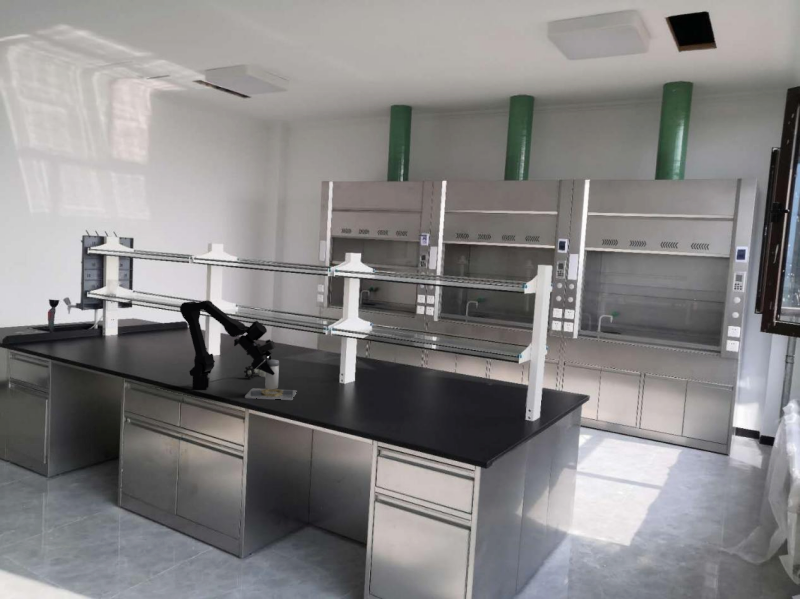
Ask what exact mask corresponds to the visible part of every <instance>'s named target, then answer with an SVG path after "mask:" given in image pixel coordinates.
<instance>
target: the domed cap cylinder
mask: <svg viewBox="0 0 800 599" xmlns="http://www.w3.org/2000/svg"><path fill="white" fill-rule="evenodd" d="M268 364H269V366H270V367H271V368H272V370H273V371H274V373H275V374H274V375H271V374H269V373H266V374H265V377H264V380H265V381H264V383H265V384H264V389H279V374H280V373H279V372H280V371H279V370H280V360H278V359H273V358H272V359H271V360H268Z"/></svg>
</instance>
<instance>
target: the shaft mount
mask: <svg viewBox="0 0 800 599" xmlns="http://www.w3.org/2000/svg"><path fill="white" fill-rule="evenodd" d="M296 392H297V393H298V390H295V389H279V388H277V389H266V388H257V387H256V388H255V387H254V388H251V389H250V390H249V391H248V392H247V393H246V394H245V396H244V399H254V400H255V399H256V398H257V400H258V399H260V400H275V399H281V401H293V399H294V398H293V397H295V396H296V394H297V393H296Z"/></svg>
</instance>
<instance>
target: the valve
mask: <svg viewBox="0 0 800 599" xmlns="http://www.w3.org/2000/svg"><path fill="white" fill-rule="evenodd" d="M257 368H258V367H256V368H255V369H253V368H252V367H251V365H248V366H246V367H245V368H244V369H245V370H243V373H244V377H245V378H247V380H251V379H255V376H254V375H256V374H258V376H259V377H260V376H261V377H262V378H265V374H266V372H264V371H261V370H259V369H257Z"/></svg>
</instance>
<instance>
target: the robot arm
mask: <svg viewBox="0 0 800 599" xmlns="http://www.w3.org/2000/svg"><path fill="white" fill-rule="evenodd" d="M179 310H180V314H181V316H182V318H183V319H184V320H185V321H186V323H187V325H188V328H189V333H190V337H191V341H192V345H193V349H194V352H195V356H194V358H193V359H194V360H193V364H194V366H193V367H192V368H190V370H189V371H188V372H189V375H190V377H192V387H191V390H197V391H198V390H200V391H202V390H208V388H210V376H209V374H210V375H211V373H212V370H213V369H214V367H215V363H216V360H215V359H214V354H213V353H210V352H208V350H207V346H206V343H205V340H204V335H203V331H202V330H203V329H202V327H201V324H200V316H201V311H204V312H205V313H207V314H208V315H209V316H210V317H212V319H214V320H215V321H217V322H218V323H219V324H221V325H222V327H223V328H224V330H225V332H226V333H227V334H228V335H229V336H230V337H232V338H235V339H234V340H233V346H234V347H237V346H238V345H239V347H241V348H242V349H243V350H244V351H245V353H246V355H247V356H250V358H251V359H252V362H251V365H250V366H251V368H253V369H254V370H255V369H256V368H257V369H259V370H261V371H264V372H266V373H269V374H271V375H274V374H275V373H274V371H273V370H272V368H271V367H270V366H269V364H268V360H271V359H273V358H272V357H273V355H272V353H273V351H272V350H273V349H275V348H276V346H275V342H274V341H273V340H271V339H267V340H265V343H264V344H260V343H257V342H256V341H258V340H260V339H261V338H262V337H263V336H264V335H265V334H266V333H267V332H268V329H267V328H266V326H265V325H263V324H262V323H261V322H259V320H254V321H253V323H251V325H249V326H248V325H245V323H243V322H241V320H238V319H234V318H233V317H230V316H229V315H228V314H227V313H225V311H224V310H223V311H222V309H220V308H219V307H218V306H217V305H215V304H214V303H213V302H212V300H209V299H207V300H201V301H198V302H197V301H194V300H193V301H184V302H183V303H181V304H180V307H179ZM236 337H238V338H236Z"/></svg>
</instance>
